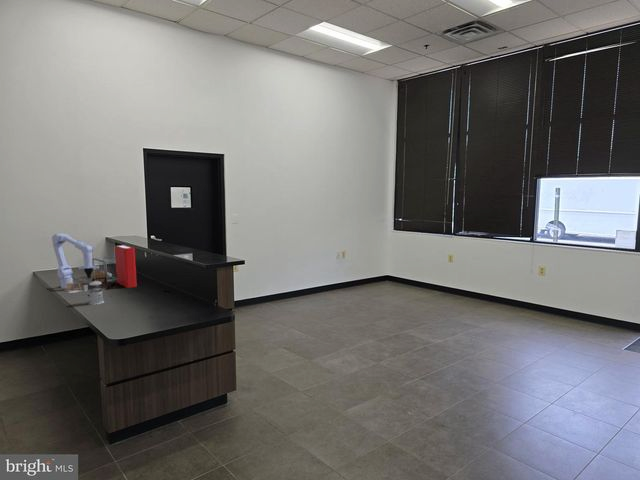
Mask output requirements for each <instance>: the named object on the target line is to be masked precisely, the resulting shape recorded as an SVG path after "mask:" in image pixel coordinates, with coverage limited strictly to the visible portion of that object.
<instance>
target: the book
mask: <svg viewBox="0 0 640 480" xmlns="http://www.w3.org/2000/svg"><path fill="white" fill-rule="evenodd" d="M135 251H136V249H135V247H134V246H132V245H129V244H125V243H124V244H122V245H115V244H114V255H115V260H116V261H115V268H116V278H117V280H116V283H117V284H119V285H121V286H123V287H124V288H127V289H129V288H130V289H131V288H136V287H138V283H137V267H136V252H135Z"/></svg>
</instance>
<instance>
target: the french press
mask: <svg viewBox="0 0 640 480" xmlns="http://www.w3.org/2000/svg"><path fill="white" fill-rule="evenodd" d="M93 269H94V274H95V271H96V270H97V269H96V268H93ZM102 284H103V283H101V282H99V281H94V282H92V281H91V282H90V283H88V286H95V287H93V288H90V289H89V290H90V291H89V299H90V300H89V301H90V302H88V305H89V306H90V305H91V306H94V305H95V306H96V304H97V305H101V303H102V304H103V303H105V301H104V296H103V290H102V288H101V286H100V285H102Z"/></svg>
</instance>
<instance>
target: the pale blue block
mask: <svg viewBox="0 0 640 480" xmlns="http://www.w3.org/2000/svg"><path fill="white" fill-rule="evenodd" d="M87 291H89V284H83V289H81V290H69V291H68V292H67V293H68V294H69V293H70V294H71V293H75V294H76V293H86V292H87Z"/></svg>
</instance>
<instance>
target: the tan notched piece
mask: <svg viewBox="0 0 640 480" xmlns="http://www.w3.org/2000/svg"><path fill="white" fill-rule="evenodd" d="M83 286H84V282H80V283H78V285H77V287H76V288H74V287H73V290H72V291H80V290H83ZM63 291H64V292H65V291H68V290H67V288H65V289H64V290H63Z"/></svg>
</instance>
